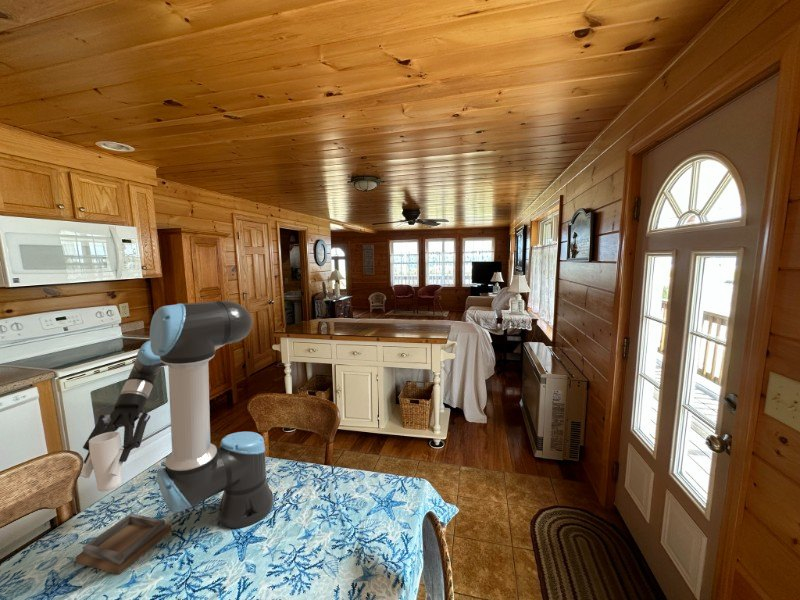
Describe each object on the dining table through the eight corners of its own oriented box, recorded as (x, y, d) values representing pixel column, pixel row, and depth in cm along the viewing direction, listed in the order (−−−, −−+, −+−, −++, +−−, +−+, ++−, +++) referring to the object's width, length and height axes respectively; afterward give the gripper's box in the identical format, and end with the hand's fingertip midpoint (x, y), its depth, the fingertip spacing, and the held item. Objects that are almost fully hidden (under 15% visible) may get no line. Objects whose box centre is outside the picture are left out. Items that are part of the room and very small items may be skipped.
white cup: (107, 495, 92) (101, 444, 91) (87, 493, 94) (81, 442, 92) (131, 480, 99) (126, 432, 98) (113, 478, 100) (107, 430, 99)
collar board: (171, 530, 94) (170, 518, 93) (119, 574, 80) (117, 561, 80) (133, 521, 97) (132, 510, 97) (76, 562, 83) (74, 549, 83)
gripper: (171, 400, 111) (143, 476, 96) (108, 403, 109) (69, 481, 94) (160, 390, 105) (129, 469, 91) (93, 393, 103) (50, 475, 89)
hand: (99, 475), depth 93 cm, fingers closed on white cup, 7 cm apart
